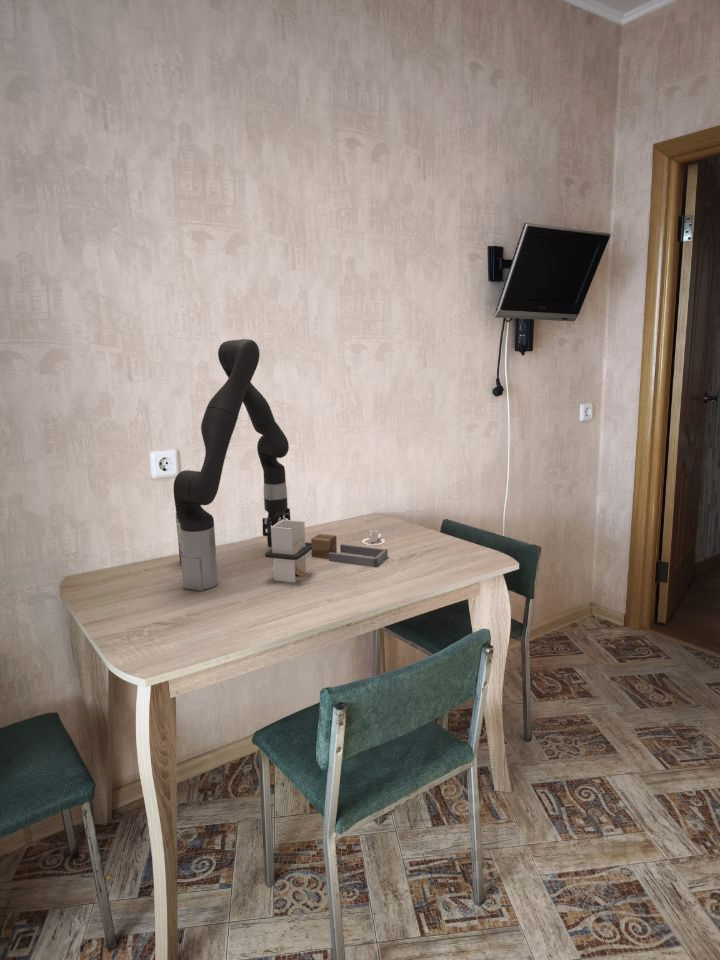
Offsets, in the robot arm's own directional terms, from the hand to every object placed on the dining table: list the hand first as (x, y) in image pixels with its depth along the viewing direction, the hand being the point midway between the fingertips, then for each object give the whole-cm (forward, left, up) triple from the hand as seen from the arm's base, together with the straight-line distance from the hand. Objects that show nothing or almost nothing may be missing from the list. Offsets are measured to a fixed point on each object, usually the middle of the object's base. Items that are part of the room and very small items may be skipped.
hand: (277, 543), depth 219 cm
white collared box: (-21, -16, -2) cm, 26 cm away
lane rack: (0, -29, -2) cm, 29 cm away
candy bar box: (-21, +17, -2) cm, 27 cm away
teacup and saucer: (+19, -30, -3) cm, 36 cm away
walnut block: (0, -10, -2) cm, 10 cm away
